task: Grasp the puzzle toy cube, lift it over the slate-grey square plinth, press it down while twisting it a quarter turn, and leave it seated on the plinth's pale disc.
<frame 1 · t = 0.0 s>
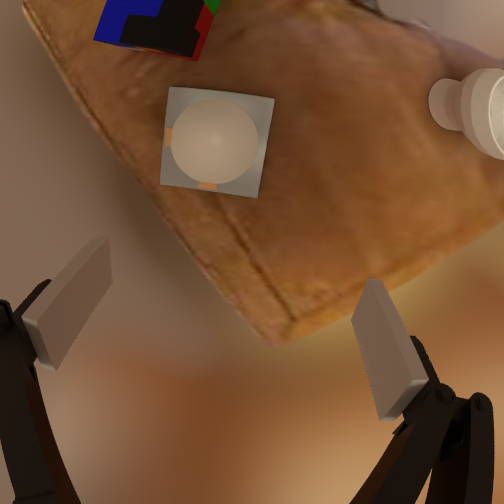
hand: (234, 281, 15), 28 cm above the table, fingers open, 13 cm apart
plinth: (215, 139, 38), on the table
cup: (448, 104, 34), on the table
puzzle toy: (174, 21, 31), on the table
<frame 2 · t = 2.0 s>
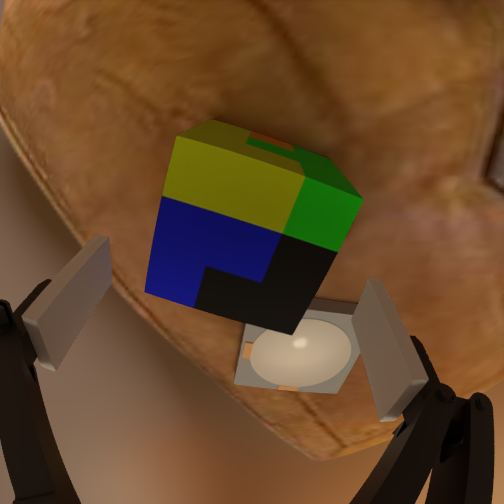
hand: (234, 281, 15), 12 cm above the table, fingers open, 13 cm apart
plinth: (299, 343, 34), on the table
puzzle toy: (251, 192, 26), on the table
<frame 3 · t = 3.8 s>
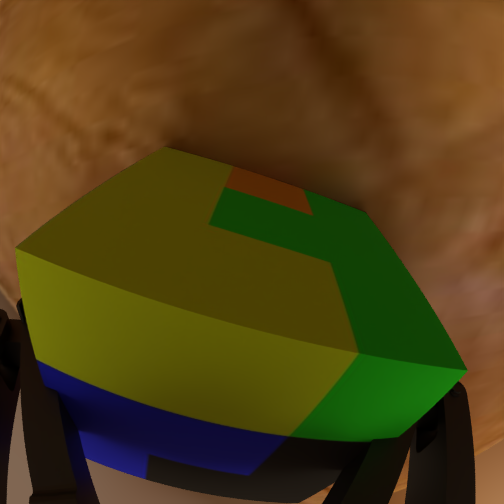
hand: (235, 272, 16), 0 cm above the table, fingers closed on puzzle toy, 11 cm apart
puzzle toy: (237, 265, 16), on the table, touching gripper
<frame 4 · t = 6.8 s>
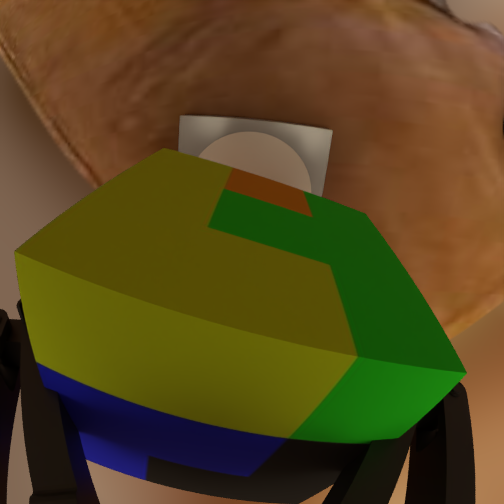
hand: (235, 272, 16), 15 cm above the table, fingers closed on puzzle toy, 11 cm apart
plinth: (250, 186, 29), on the table
puzzle toy: (236, 266, 16), point 15 cm above the table, touching gripper
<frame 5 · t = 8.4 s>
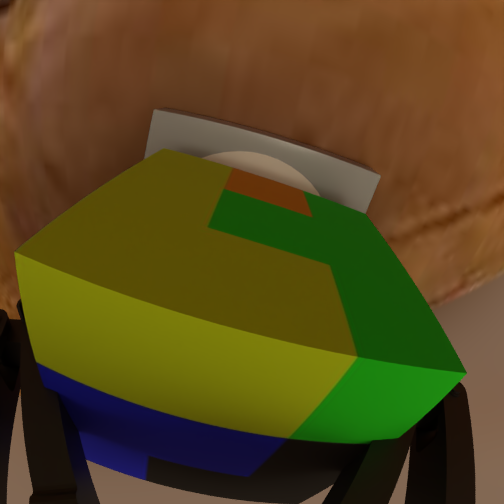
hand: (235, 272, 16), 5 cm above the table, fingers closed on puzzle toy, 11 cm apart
plinth: (241, 229, 20), on the table
puzzle toy: (236, 266, 16), point 5 cm above the table, touching gripper
when the fingers open (4 cm above the table, at t = 9.8 s): puzzle toy stays where it is, resting on plinth.
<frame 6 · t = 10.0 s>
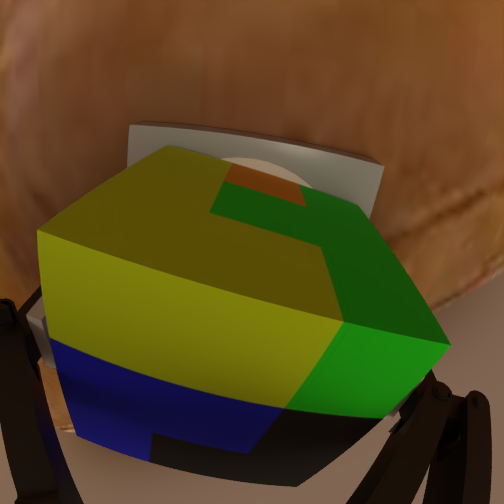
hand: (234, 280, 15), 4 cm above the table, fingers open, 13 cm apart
plinth: (240, 241, 19), on the table
puzzle toy: (236, 257, 17), point 2 cm above the table, touching plinth
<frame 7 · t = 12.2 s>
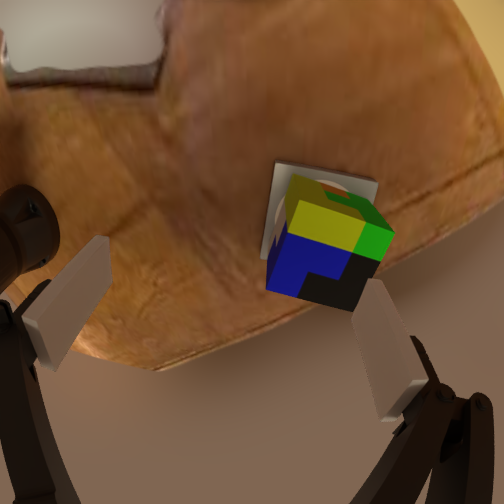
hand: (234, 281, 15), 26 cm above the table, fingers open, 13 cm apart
plinth: (316, 215, 41), on the table
puzzle toy: (317, 221, 39), point 2 cm above the table, touching plinth
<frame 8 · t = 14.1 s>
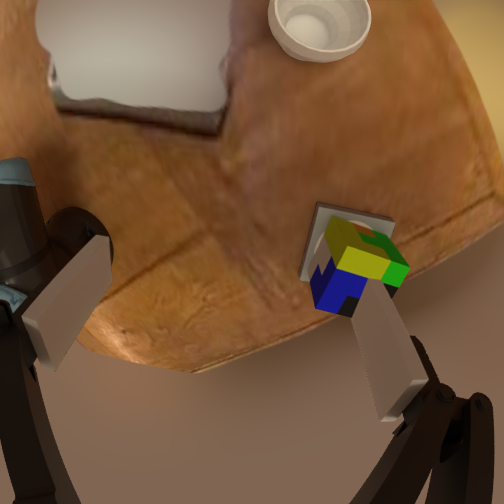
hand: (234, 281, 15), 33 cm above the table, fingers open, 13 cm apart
plinth: (345, 246, 50), on the table
cup: (305, 36, 35), on the table
puzzle toy: (347, 252, 48), point 2 cm above the table, touching plinth
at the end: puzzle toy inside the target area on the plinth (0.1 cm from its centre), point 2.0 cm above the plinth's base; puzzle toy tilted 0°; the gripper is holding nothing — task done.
